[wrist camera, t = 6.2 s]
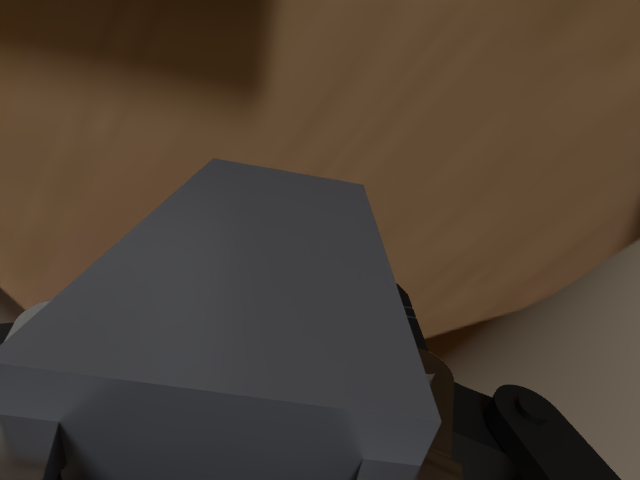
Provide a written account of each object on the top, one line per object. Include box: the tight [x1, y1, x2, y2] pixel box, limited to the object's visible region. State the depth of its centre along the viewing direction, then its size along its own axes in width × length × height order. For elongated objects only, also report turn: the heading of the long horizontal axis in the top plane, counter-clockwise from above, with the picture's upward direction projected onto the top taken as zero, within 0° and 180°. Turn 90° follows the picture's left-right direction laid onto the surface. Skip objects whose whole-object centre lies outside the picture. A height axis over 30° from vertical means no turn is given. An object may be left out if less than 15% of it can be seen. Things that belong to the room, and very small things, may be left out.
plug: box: [0, 158, 442, 480], centre depth 9 cm, size 5×5×9 cm
